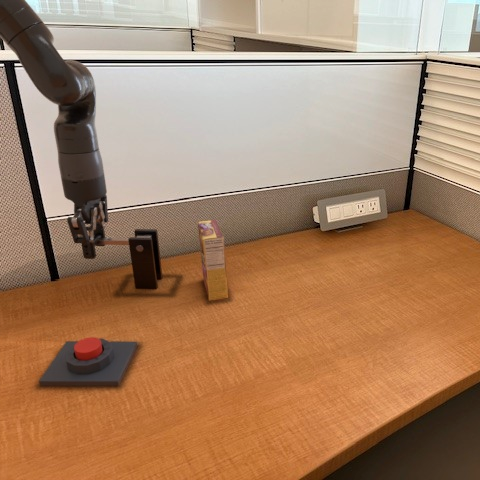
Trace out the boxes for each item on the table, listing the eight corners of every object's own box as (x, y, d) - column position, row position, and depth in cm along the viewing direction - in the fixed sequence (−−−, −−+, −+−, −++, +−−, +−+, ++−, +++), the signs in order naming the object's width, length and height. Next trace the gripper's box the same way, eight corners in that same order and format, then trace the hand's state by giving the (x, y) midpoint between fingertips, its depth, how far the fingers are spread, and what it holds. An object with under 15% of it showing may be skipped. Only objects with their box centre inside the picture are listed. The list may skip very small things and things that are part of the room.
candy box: (202, 284, 105) (197, 220, 99) (221, 282, 107) (218, 218, 100) (207, 306, 98) (202, 238, 91) (228, 303, 99) (225, 236, 92)
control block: (40, 389, 75) (36, 372, 73) (68, 349, 84) (64, 332, 82) (119, 389, 76) (116, 372, 74) (138, 349, 85) (135, 333, 83)
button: (71, 361, 76) (69, 352, 76) (81, 345, 80) (80, 337, 79) (97, 361, 77) (95, 352, 76) (106, 345, 80) (104, 337, 80)
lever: (86, 251, 96) (84, 241, 95) (96, 241, 100) (94, 230, 99) (148, 252, 97) (146, 242, 96) (154, 242, 101) (153, 231, 100)
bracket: (117, 297, 99) (108, 242, 94) (129, 278, 106) (121, 225, 101) (171, 298, 100) (165, 243, 94) (179, 279, 107) (174, 226, 101)
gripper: (77, 161, 98) (90, 236, 105) (44, 183, 85) (61, 268, 92) (115, 162, 98) (125, 237, 105) (87, 185, 85) (101, 269, 93)
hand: (95, 251), depth 99 cm, fingers closed on lever, 5 cm apart
